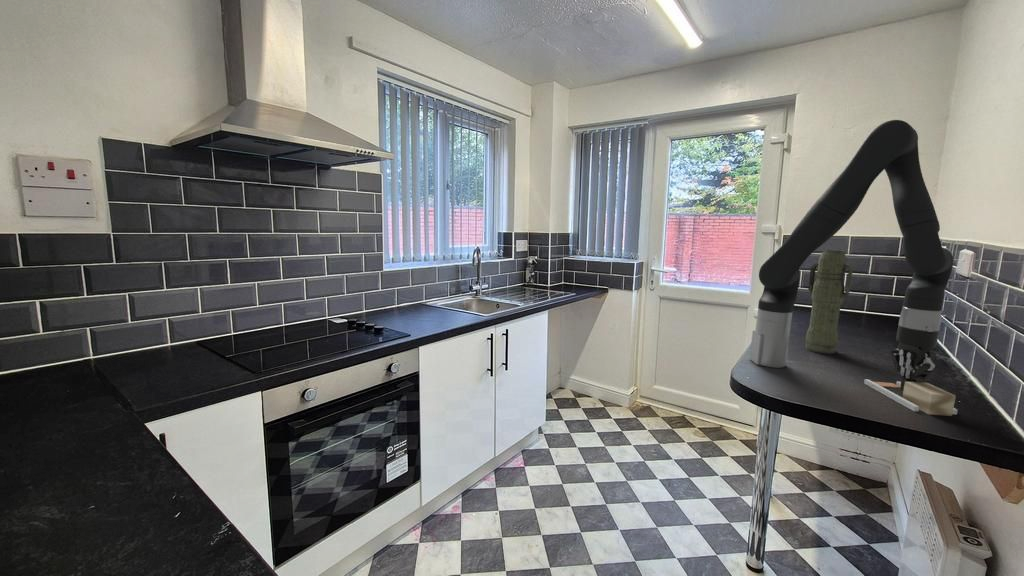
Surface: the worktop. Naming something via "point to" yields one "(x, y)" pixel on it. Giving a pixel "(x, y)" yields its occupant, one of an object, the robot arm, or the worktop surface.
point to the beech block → (929, 398)
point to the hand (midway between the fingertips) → (907, 391)
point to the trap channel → (906, 403)
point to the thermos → (827, 301)
